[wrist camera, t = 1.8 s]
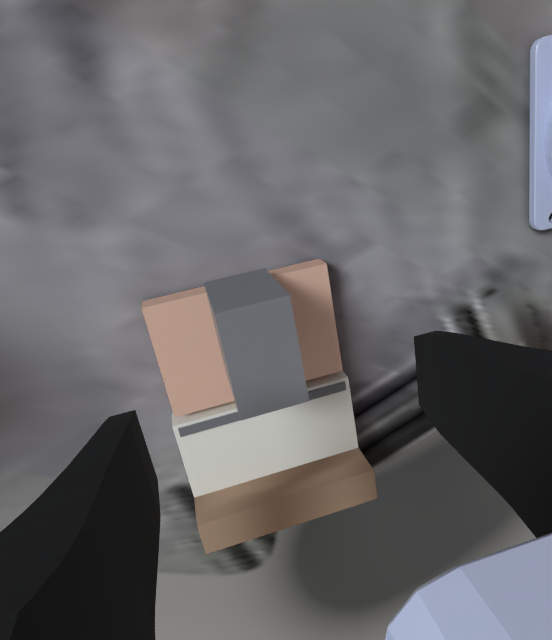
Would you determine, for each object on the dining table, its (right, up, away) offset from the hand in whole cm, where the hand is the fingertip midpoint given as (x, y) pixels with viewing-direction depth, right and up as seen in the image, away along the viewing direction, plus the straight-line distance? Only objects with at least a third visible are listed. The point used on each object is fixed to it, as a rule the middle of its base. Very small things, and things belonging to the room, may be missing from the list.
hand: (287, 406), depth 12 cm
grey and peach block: (-2, +2, +9) cm, 9 cm away
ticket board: (-1, -4, +11) cm, 12 cm away
